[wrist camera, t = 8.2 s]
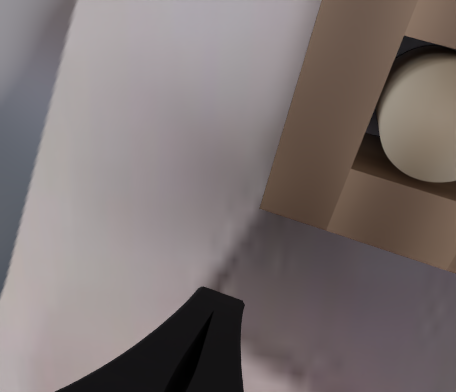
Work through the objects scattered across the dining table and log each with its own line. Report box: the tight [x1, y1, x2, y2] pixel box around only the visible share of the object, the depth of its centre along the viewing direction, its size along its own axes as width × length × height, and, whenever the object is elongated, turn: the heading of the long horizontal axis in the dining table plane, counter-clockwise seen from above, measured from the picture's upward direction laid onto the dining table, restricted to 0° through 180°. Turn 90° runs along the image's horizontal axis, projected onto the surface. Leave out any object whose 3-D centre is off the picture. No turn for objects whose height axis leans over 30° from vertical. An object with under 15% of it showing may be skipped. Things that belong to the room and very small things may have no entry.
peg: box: [375, 46, 456, 182], centre depth 16 cm, size 4×4×4 cm
